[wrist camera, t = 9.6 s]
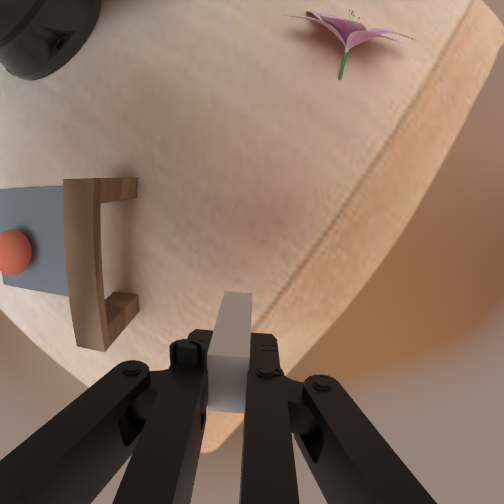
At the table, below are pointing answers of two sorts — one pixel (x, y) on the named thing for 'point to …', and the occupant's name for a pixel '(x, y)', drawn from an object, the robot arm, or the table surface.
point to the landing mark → (37, 236)
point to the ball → (14, 252)
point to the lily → (349, 32)
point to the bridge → (93, 262)
